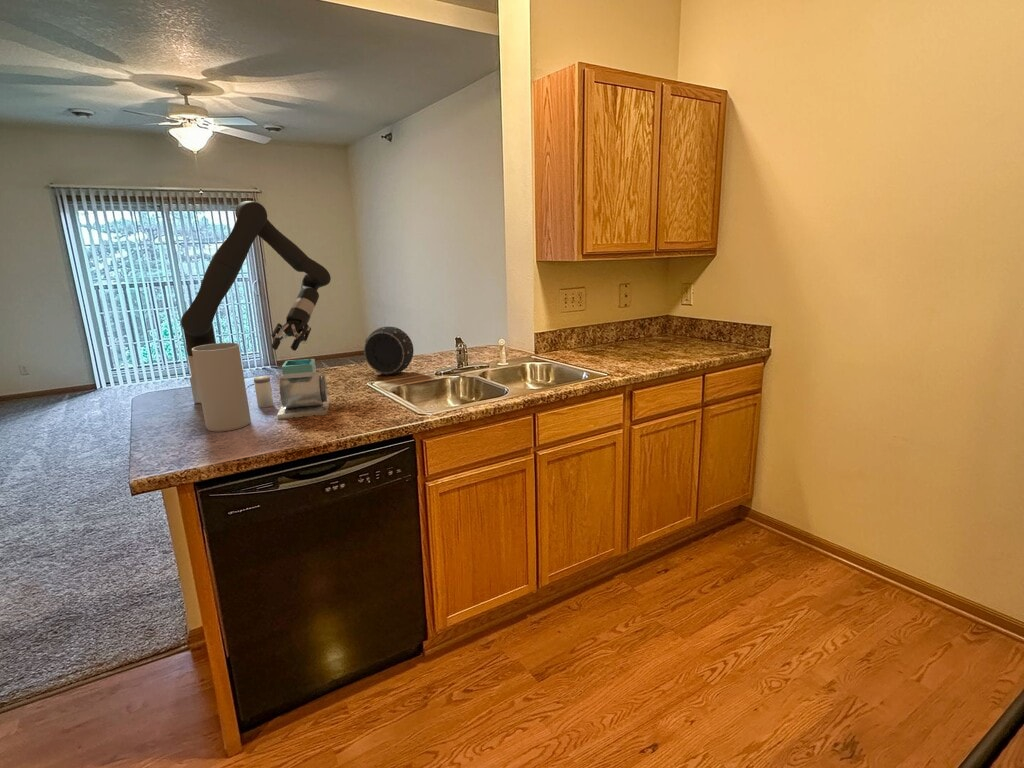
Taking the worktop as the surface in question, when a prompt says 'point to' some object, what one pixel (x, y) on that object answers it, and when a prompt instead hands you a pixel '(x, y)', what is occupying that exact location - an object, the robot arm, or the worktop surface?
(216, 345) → the cylinder vase
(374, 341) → the black wheel
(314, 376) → the motor
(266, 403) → the jar with metallic lid
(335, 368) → the worktop surface
